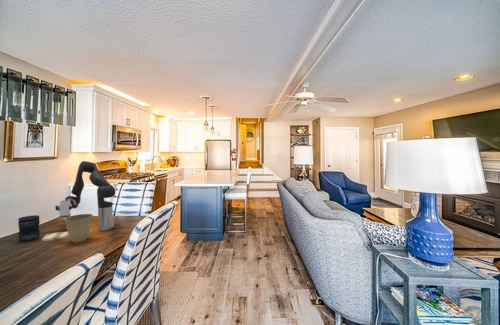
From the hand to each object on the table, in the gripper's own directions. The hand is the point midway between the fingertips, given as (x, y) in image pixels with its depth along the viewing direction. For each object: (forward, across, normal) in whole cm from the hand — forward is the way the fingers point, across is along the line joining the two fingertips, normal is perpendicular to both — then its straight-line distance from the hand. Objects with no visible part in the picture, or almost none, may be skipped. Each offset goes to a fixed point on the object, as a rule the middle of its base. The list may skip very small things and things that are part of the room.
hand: (64, 209), depth 154 cm
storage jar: (+6, -17, +17) cm, 25 cm away
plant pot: (+24, +11, +18) cm, 32 cm away
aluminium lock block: (-3, 0, +7) cm, 7 cm away
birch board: (+9, -1, +17) cm, 19 cm away
